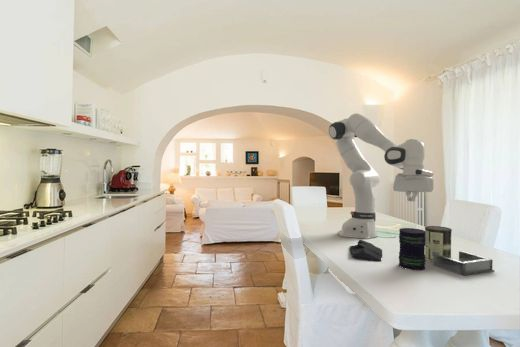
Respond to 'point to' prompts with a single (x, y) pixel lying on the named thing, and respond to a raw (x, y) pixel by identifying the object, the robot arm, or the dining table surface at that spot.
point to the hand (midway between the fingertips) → (411, 201)
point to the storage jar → (412, 248)
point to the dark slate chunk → (366, 251)
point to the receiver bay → (464, 263)
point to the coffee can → (437, 242)
